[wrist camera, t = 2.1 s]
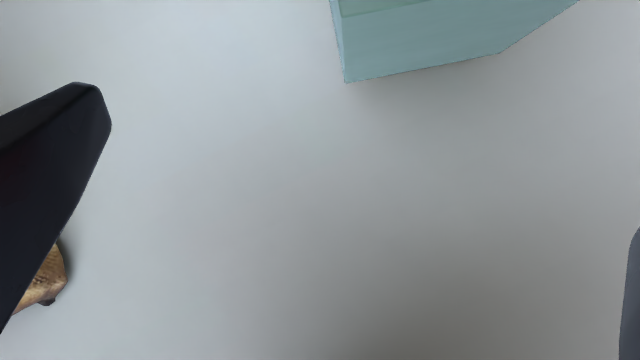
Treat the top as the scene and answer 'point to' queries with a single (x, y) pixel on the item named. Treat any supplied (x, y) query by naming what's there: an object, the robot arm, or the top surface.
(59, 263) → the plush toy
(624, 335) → the robot arm
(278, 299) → the top surface
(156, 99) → the top surface
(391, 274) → the top surface
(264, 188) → the top surface
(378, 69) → the tote bag
